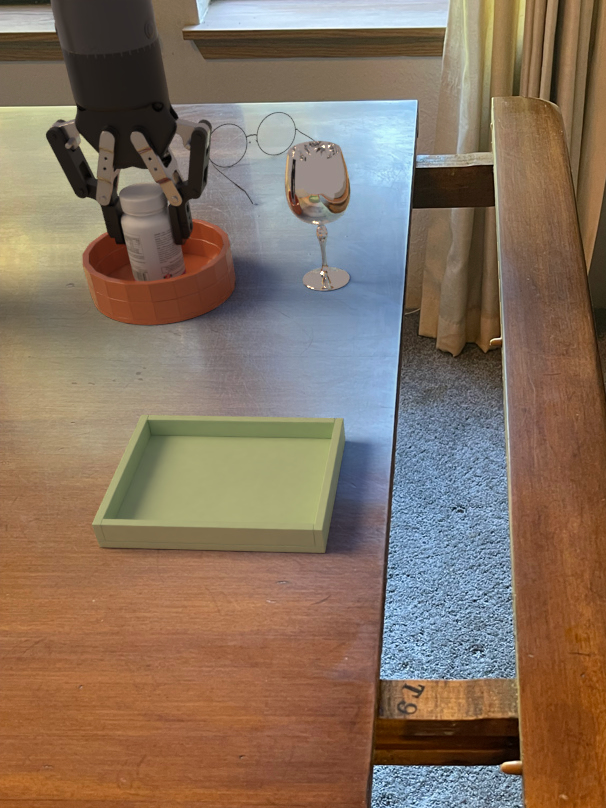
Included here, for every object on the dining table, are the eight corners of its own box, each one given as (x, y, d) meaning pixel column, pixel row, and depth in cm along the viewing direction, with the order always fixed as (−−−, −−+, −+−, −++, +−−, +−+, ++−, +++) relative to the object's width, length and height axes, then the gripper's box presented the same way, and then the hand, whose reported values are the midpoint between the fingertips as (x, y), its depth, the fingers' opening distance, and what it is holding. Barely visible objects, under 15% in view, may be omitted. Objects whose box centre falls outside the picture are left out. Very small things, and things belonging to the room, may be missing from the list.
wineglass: (358, 292, 88) (349, 162, 79) (295, 296, 87) (280, 166, 79) (355, 262, 92) (346, 136, 84) (295, 266, 92) (281, 140, 83)
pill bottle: (186, 265, 90) (170, 177, 85) (187, 289, 87) (169, 199, 81) (136, 270, 90) (115, 182, 84) (134, 294, 86) (112, 204, 81)
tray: (99, 547, 63) (91, 524, 62) (147, 436, 72) (141, 414, 71) (325, 553, 62) (322, 529, 61) (345, 440, 71) (343, 417, 70)
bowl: (74, 324, 85) (62, 283, 82) (116, 255, 94) (106, 216, 92) (219, 325, 84) (212, 284, 81) (247, 256, 93) (241, 217, 91)
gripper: (209, 21, 76) (238, 223, 88) (36, 21, 77) (88, 222, 89) (187, 49, 71) (222, 261, 83) (1, 50, 72) (61, 259, 83)
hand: (152, 240), depth 86 cm, fingers closed on pill bottle, 4 cm apart
